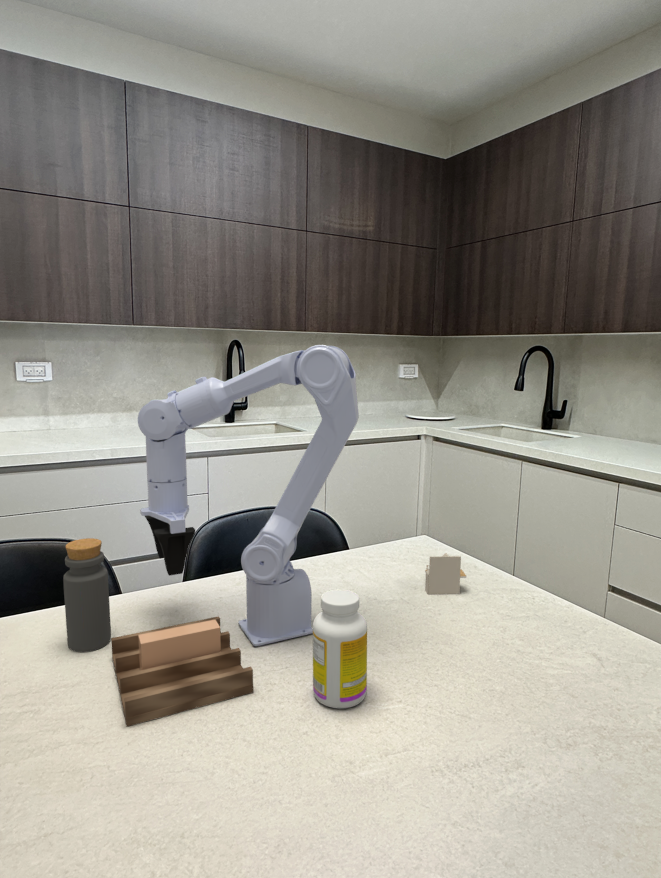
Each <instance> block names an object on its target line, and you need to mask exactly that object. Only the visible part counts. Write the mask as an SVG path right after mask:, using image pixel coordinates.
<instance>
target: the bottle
mask: <svg viewBox="0 0 661 878" xmlns="http://www.w3.org/2000/svg"><path fill="white" fill-rule="evenodd" d="M65 549H66V552H67V555H66V556H65V558H64V563H65V566H66V567H67V568H69V570H67V571H66V572H65V573H64V574H63V576H62V577H63V579H62V581H63V595H64V609H65V610H64V611H65V612H64V613H65V627H66V639H67V640H66V641H67V646H68V649H69V650H71V651H72V652H76V653H88V652H93V651H96V650H99V649H102V648H104V647H105V646H107V645H108V644H109V643H110V642H111V638H112V629H111V628H112V627H111V612H110V610H111V609H110V591H109V590H110V589H109V576H108V575H109V573H108V569H107V568H106V567H104V566H102V565H101V563H103V562H104V561H105V553H104V552H103V551H101V549H102V540H101V539H100V538H99V539H98V538H93V537H90V538H89V537H87V538H81V539H75V540H72V541H70V542H68V543H67V544H65Z"/></svg>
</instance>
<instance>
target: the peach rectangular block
mask: <svg viewBox="0 0 661 878" xmlns="http://www.w3.org/2000/svg"><path fill="white" fill-rule="evenodd" d="M220 631H221V625H220V626H219V625H218V623H217V621H216V620H210V621H205V622H200V623H195V624H190V625H185V626H180V627H175V628H170V629H165V630H160V631H155V632H150V633H145V634H140V635H138V640H139V661H140V671H141V670H145V669H149V668H154V667H158V666H162V665H167V664H171V663H175V662H180V661H184V660H188V659H193V658H197V657H201V656H206V655H210V654H214V653H219V652H221V640H220Z"/></svg>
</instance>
